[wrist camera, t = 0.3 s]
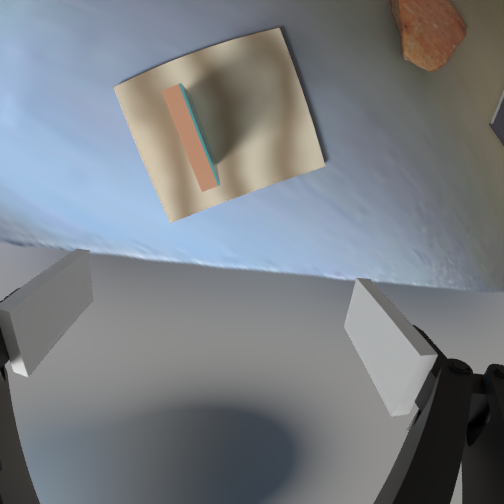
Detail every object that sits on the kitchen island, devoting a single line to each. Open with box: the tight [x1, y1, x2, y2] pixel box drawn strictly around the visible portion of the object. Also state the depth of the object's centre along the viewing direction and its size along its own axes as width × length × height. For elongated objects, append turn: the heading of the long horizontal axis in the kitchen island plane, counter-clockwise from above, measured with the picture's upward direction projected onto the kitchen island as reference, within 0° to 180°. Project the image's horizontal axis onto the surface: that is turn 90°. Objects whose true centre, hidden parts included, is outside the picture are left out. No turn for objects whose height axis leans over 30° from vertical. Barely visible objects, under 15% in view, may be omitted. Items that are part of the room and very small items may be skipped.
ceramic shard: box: [390, 0, 467, 72], centre depth 28 cm, size 15×6×15 cm
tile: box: [162, 83, 220, 192], centre depth 28 cm, size 2×9×11 cm, turn 19°
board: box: [114, 28, 325, 223], centre depth 33 cm, size 20×18×1 cm
